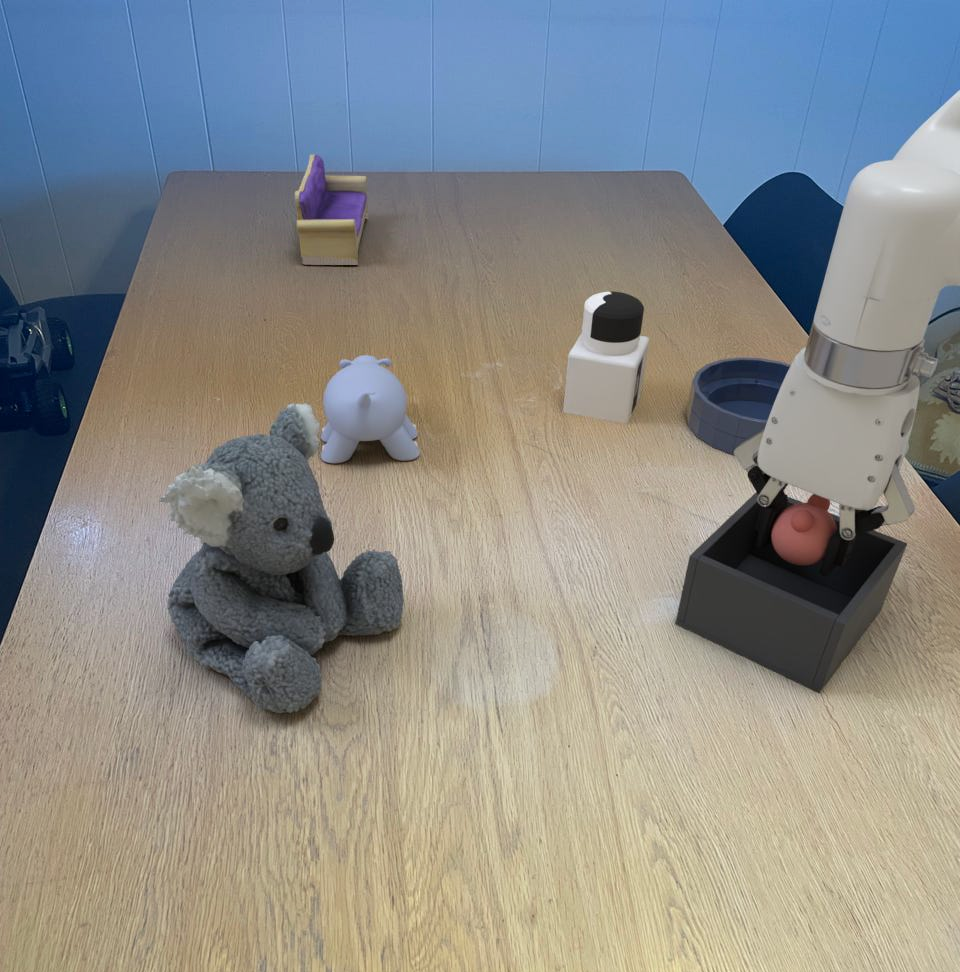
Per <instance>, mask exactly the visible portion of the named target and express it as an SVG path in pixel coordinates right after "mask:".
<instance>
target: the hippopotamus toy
mask: <svg viewBox="0 0 960 972" xmlns="http://www.w3.org/2000/svg"><path fill="white" fill-rule="evenodd" d="M382 365H384V366H385V367H387V368H391V366H392V361H391V359H390V358H387V357H386V358H382V359H377V358H376V357H375V356H373V355H368V354H363V355H362V354H361V355H359V356H356V357H355V358H354V359H353V360H350V359H341V360H340V362H339V368H341V369H340V370H338V371H337V372H336V373H335V374H334V375H333V376H332V377H331V379H330V380H329V381H328V383H327V385H326V386H325V389H324V394H323V400H322V401H323V402H322V403H323V410H324V414H325V417H326V420H327V423H326V425H325V426H323V427H322V428H321V435H320V440H321V441H322V442H325V443H326V444H323V445H322V446H321V447H322V448H321V453H320V459H321V460H322V461H323V462H326V463H328V464H342V463H345V462H347V461H348V460H350V459H351V458H352V456H353V454H354V452H355V450H356V449H357V447H358V445H359V443H360V442H371V441H373V442H374V441H379V442H380V443H381V444H382V446H383V448H384V449H385V451H386V452H387V453H388V455H389V456H390V457H391V458H392V459H394V460H396V461H402V462H403V461H405V462H407V461H413V460H416V459H417V458H419V456H420V453H421V451H420V449H419V446H418V442H417V441H415V440H414V439H416V438H417V437H418V435H419V432H418V430H417V429H418V428H417V425H416V424H415V423H412V421H411V419H410V418H409V416H408V415H407V409H408V399H407V394H406V391H405V388H404V386H403V384H402V382H401V381H400V379H399V377H397V376H396V375H395V374H394V373H393V372H392V371H390V370H389V369H387V368H385V367H384V366H382Z"/></svg>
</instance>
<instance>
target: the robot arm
mask: <svg viewBox="0 0 960 972" xmlns="http://www.w3.org/2000/svg"><path fill="white" fill-rule="evenodd" d="M946 287H960V89H959V90H957V92H956V93H954V94H953V95H952V96H951V97H950V98H949V99H948V100H946V102H945V103H943V104H942V105H941V106H940V107H939V108H938V109H937V110H936V111H935V112H933V114H931V115H930V116H929V118H927V119H926V120H925V121H924V122H923V123H922V124H921V125H920V126H919V127H918V129H916V130H915V131H914V133H913V134H911V136H910V137H909V138H908V139H907V140H906V141H905V142H904V144H902V146H901V147H900V148H899V150H898V151H897V153H896V154H895V155H894V156H893V158H892V159H889V160H881V161H877V162H873V163H871V164H869V165H866V166H865V167H864V168H862V169H861V170H860V171H859V172H858V173H857V174H856V175H855V176H854V178H853V179H852V181H851V183H850V185H849V188H848V191H847V194H846V197H845V201H844V204H843V209H842V211H841V216H840V219H839V222H838V226H837V231H836V234H835V238H834V242H833V245H832V249H831V253H830V256H829V260H828V263H827V267H826V271H825V275H824V279H823V283H822V286H821V289H820V294H819V297H818V300H817V301H818V302H817V305H816V309H815V313H814V316H813V320H812V324H811V328H810V331H809V335H808V339H807V342H806V345H805V347H803V348H802V349H800V351H799V352H798V353H796V355H795V357H794V359H793V361H792V362H791V364H790V365H791V366H790V368H789V370H788V372H787V374H786V376H785V378H784V381H783V383H782V385H781V388H780V390H779V392H778V395H777V397H776V400H775V402H774V405H773V407H772V410H771V413H770V415H769V418H768V421H767V424H766V427H765V429H763V430H761V431H760V432H758V433H757V434H755V435H754V436H752V437H750V438H749V439H747V440H746V441H744V442H742V443H741V444H740V445H739V446H738V447H737V448H736V449H735V450H734V455H733V456H734V457H735V458H736V460H737V461H738V463H739V465H741V467H742V469H743V470H744V471H746V472H747V478H748V481H750V484H751V485H752V487H753V489H754V490H755V493H756V492H757V494H758V497H757V501H758V503H759V505H761V508H760V511H759V515H758V519H757V523H756V526H755V531H756V532H758V533H759V535H758V539H757V542H756V547H757V548H760V549H762V548H764V549H765V548H766V547H767V546H768V545H769V543H770V542H771V541H772V538H771V532H772V527H773V524H774V522H775V520H776V518H777V517H778V515H779V514H780V513H781V512H782V511H783V510H785V509H786V506H787V503H788V499H787V496H788V494H786V492H785V490H786V489H787V487H788V486H789V485H790V486H792V487H795V488H797V489H800V490H802V491H805V492H808V493H811V494H812V495H813V494H815V495H818V496H820V497H823V498H826V499H828V500H830V502H833V503H837V504H838V505H839V506H838V509H839V513H838V514H839V515H838V516H839V523H840V526H839V528H838V529H837V530H836V531H835V532H834V534H833V535H832V536H831V538H830V541H829V544H828V547H827V550H826V553H825V556H824V559H823V562H822V565H821V568H820V571H819V572H820V573H821V575H823V576H825V577H827V576H828V575H829V574H830V573H831V572H832V571H833V569H834V568H835V567H836V566H837V565H838V566H840V567H843V566H844V565H845V563H846V562H847V560H848V558H849V556H850V553H851V551H852V548H853V545H854V542H855V539H856V536H858V535H861V534H863V533H866V532H869V531H872V530H875V531H876V530H878V529H880V528H881V527H883V526H891V525H895V524H899V523H904V522H907V521H908V520H909V519H910V518H911V516H912V515H913V514H914V513H915V510H916V509H915V505H914V503H913V500H912V498H911V496H910V493H909V490H908V487H907V486H906V484H905V481H904V480H903V476H902V474H901V472H900V471H901V468H902V465H903V462H904V458H905V455H906V451H907V448H908V444H909V441H910V437H911V433H912V430H913V425H914V421H915V417H916V412H917V407H918V401H919V396H920V387H921V386H920V385H921V381H920V379H919V376H923V377H926V378H929V379H930V378H931V377H932V376H933V374H934V372H935V371H936V368H937V366H938V363H939V358H937V357H933V356H929V355H930V354H929V353H928V352H925V348H926V347H924V345H925V342H926V338H924V337H925V334H926V333H927V329H928V326H929V323H930V320H931V317H932V314H933V312H934V309H935V306H936V304H937V300H938V298H939V295H940V293H941V291H942V290H943V289H944V288H946ZM882 496H884V498H885V500H886V503H887V505H884V506H883V505H879V506H877V504H878V502H879V500H880V498H881V497H882ZM788 497H789V496H788Z"/></svg>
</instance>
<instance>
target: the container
mask: <svg viewBox="0 0 960 972" xmlns="http://www.w3.org/2000/svg"><path fill="white" fill-rule="evenodd" d="M644 312H645V306H644V304H643V303H642V301H641V300H640V299H638V297H635V296H633V295H631V294H629V293H625V292H621V291H602V292H599V293H595V294H592V295H590V297H588V298H587V299H586V300H585V301H584V308H583V316H582V325H581V333H580V335H579V337H578V338H577V340H576V342H575V343H574V345H573V346H572V348H571V350H570V351H569V353H568V355H567V366H566V377H565V386H564V387H565V388H564V398H563V399H564V400H563V411H562V412H563V413H564V414H568V415H569V414H570V415H574V416H579V417H586V418H591V419H595V420H601V421H607V422H610V423H611V422H613V423H617V424H623V425H627V424H629V423H630V420H631V418H632V416H633V414H634V411H635V410H636V408H637V406H638V403H639V401H640V399H641V397H642V392H643V385H644V378H645V372H646V371H645V370H646V364H647V359H648V353H649V352H648V351H649V343H650V338H649V336H645V335H641V333H642V326H643V319H644Z"/></svg>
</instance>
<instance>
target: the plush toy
mask: <svg viewBox="0 0 960 972" xmlns="http://www.w3.org/2000/svg"><path fill="white" fill-rule="evenodd" d="M830 507H831V500H828V499H826V498H823V497H820V496H818V495H815V494H813V493H812V494H811V495H810V496H809V497H808V499H807V501H806V502H803V503H798V504H794V505H792V506H789V507H788V508H786V509H785V510H783V511H782V512H781V513H780V514H779V515H778V517H777V518H776V520H775V522H774V524H773V527H772V532H771V538H772V543H773V546H774V548H775V550H776V552H777V553H778V554H779V556H780V557H782V558H783V559H784V560H786V561H787V562H789V563H792V564H795V565H811V564H814V563H817V562H819V561H821V560H823V559H824V556H825V553H826V550H827V547H828V544H829V541H830V538H831V536H832V535H833V534H834V532H835V531H836V530H837V527H836V523H835V521H834V519H833V517H832V516H831V514H832V513H831V512H829V509H830ZM830 513H831V514H830Z"/></svg>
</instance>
